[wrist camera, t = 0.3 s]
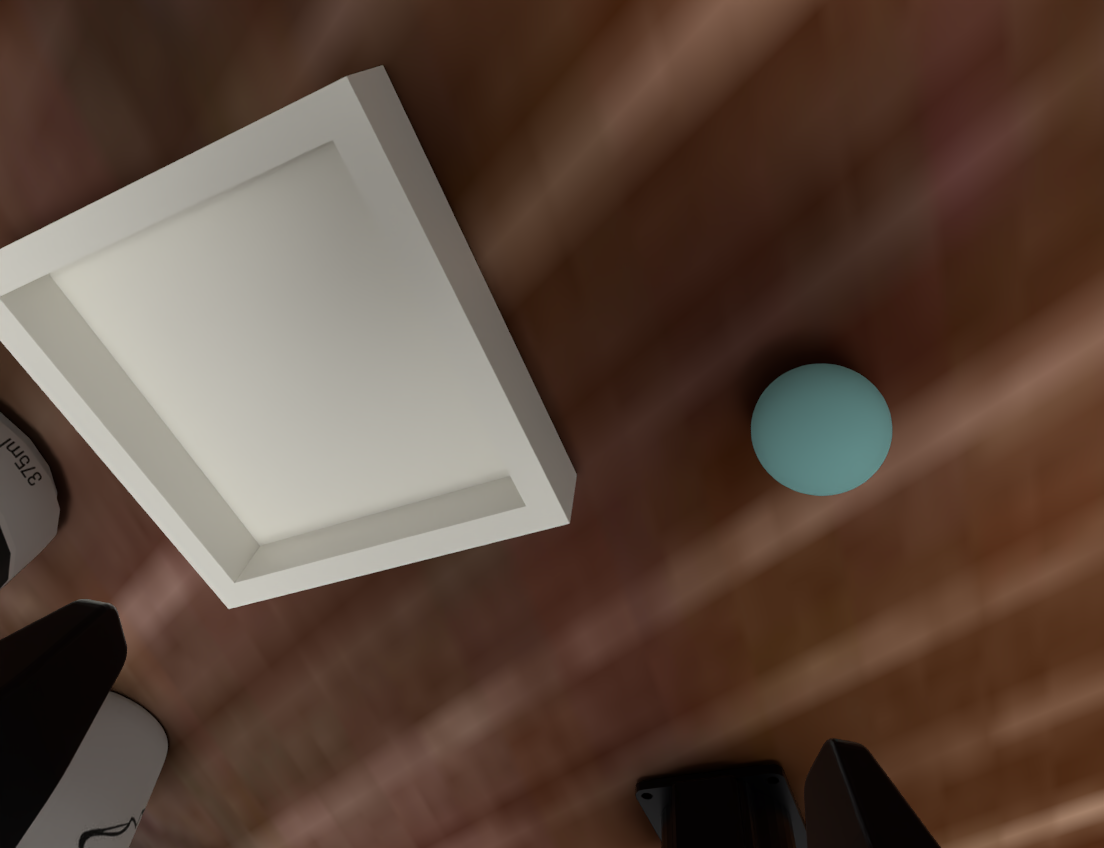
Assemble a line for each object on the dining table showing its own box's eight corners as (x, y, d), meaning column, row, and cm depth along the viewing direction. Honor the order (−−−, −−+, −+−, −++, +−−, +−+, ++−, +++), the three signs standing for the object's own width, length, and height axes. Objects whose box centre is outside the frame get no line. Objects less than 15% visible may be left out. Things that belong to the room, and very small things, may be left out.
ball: (881, 429, 21) (921, 504, 18) (761, 460, 22) (778, 536, 19) (858, 324, 20) (897, 387, 17) (729, 363, 21) (743, 428, 18)
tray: (576, 474, 23) (569, 523, 21) (261, 560, 27) (228, 608, 25) (382, 64, 17) (346, 75, 15) (15, 247, 21) (-55, 276, 19)
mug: (-28, 607, 31) (-284, 844, 22) (159, 636, 30) (-29, 888, 22) (50, 763, 37) (-128, 995, 28) (207, 788, 36) (73, 1031, 28)
